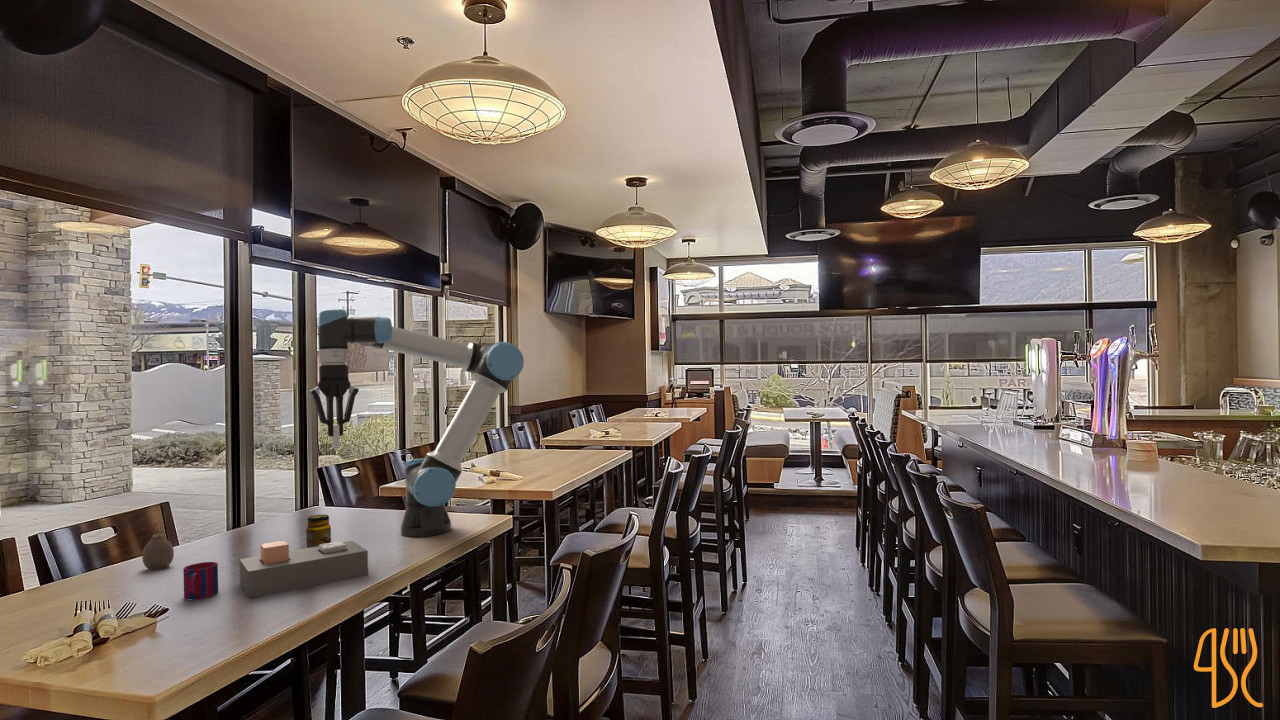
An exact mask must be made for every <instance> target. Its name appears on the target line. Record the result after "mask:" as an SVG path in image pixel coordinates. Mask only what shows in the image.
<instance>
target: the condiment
mask: <svg viewBox="0 0 1280 720" xmlns="http://www.w3.org/2000/svg"><path fill="white" fill-rule="evenodd" d="M331 530H332V528H331V525H330V516H329V514H315V515H310V516H308V518H307V527H306V529H305V531H306V534H305V535H306V548H311V547H317V546H319V545H320V544H326V543H332V531H331Z"/></svg>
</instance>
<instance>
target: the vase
mask: <svg viewBox="0 0 1280 720" xmlns="http://www.w3.org/2000/svg"><path fill="white" fill-rule="evenodd" d="M174 550H175V549H174V547H173V544H172V543H171V541H169V540H168V539H167V538H166V537H165V536H164V534H162V533H158V534H154V535H152V536H151V538H150V539H149V541H148V542H147V544H146V545H145V547H144V548H143V550H142V555H141V558H142V562H143V565H144V566H145V568H146V569H148V570H150V571H158V570H163V568H164V569H166V568H168V567H169V566H170V565H171V564H172V562H173V560H174V557H175V556H174V555H175V551H174Z"/></svg>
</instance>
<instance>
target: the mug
mask: <svg viewBox="0 0 1280 720" xmlns="http://www.w3.org/2000/svg"><path fill="white" fill-rule="evenodd" d="M218 567H219V563H218V562H215V561H202V562H198V563H197V562H196V563H192V564H189V565H186V566H184V567H183V570H182V571H183V599H184V600H186V599H192V600H191V601H195V600H194V599H198V600H202V599H201V598H204V599H208V598H211V597H213V595H214V596H216V595H217V593H219V568H218ZM215 594H216V595H215ZM210 596H211V597H210ZM207 597H208V598H207Z"/></svg>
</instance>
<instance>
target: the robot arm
mask: <svg viewBox="0 0 1280 720" xmlns="http://www.w3.org/2000/svg"><path fill="white" fill-rule="evenodd" d="M317 315H318V316H317V317H318V318H317V320H318V321H317V332H318V333H317V334H318V335H317V337H318V338H317V339H318V363H319V364H321V365H319V368H318V374H319V376H318V377H319V381H318V383H317V386H316V387H314V388H313V389H310V390H309V392H308V393H309V395H310V396H311V397H312V398H313V402H314V405H315V408H316V412H317V416H318V418H319V421H320V423H321V424H324V425H326V426H327V436H328V438H329V437H330V438H331V449H340V448H341V444H340V443H341V441H340V438H341V437H342V436H344V424H346V423H349V422H350V421H351V417H352V412H353V408H354V403H355V401H356V400H355V399H356V396H357V395H358V393H359V388H358V387H357V388H356V387H355V386H352V385H351V382H350V379H349V366H348V365H347V363H348V362H349V355H348V353H349V351H348V348H349V347H348V344H359V345H360V346H365V347H373V348H376V349H377V348H378V349H382V350H387V351H389V352H390V351H391V352H394V353H399V354H403V355H407V356H412V357H417V358H420V359H425V360H429V361H434V362H437V363H443V364H446V365H447V364H448V365H452V366H455V367H459V368H460V367H461V369H462V370H463V371H464V372H468V373H471V374H472V376H473V383H472V384H471V386H470V388H469V390H468V391H467V393H466V395H465V397H464V398H463V400H462V402H461V403H460V405H459V407H458V408H457V411H456V413H455V414H454V417H453V418H452V419H451V421H450V423H449V425H448V426H447V428H446V430H445V432H444V434H443V436H441V439H440V441H439V442H438V444H437V445H436V448H435V449H434V450H433V451H429V452H427V453H426V454H425V456H424V458H414V459H413V458H412V459H408V460H406V462H405V465H404V475H405V478H404V479H405V511H404V516H403V519H402V522H401V525H400V534H401V535H402V536H405V537H411V536H412V537H413V538H415V537H416V538H417V536H421V537H431V536H436V535H442V534H444V533H448V532H450V531H451V530H452V521H451V519H450V516H449V513H448V511H447V508H446V503H447V502H448V501H450V500H451V499H452V498H453V496H454V494H455V492H456V486H457V485H456V483H457V482H458V479H459V478H460V476H461V474H462V473H463V468H462V462H463V460H464V459H465V456H466V455H467V452H469V449H470V447H471V445H472V444H473V442H474V440H475V439H476V436H477V434H478V433H479V431H480V429H481V428H482V425H483V424H484V422H485V420H486V419H487V417H488V415H489V413H490V411H491V409H492V408H493V406H494V404H495V402H496V401H497V399H498V397H499V395H500V394H502V393H506V392H507V391H508V389H509V387H510V386H511V384H512V382H513V380H515V379H516V378H517V377H518V376H520V374H521V373H522V371H523V369H524V365H525V364H524V361H525V359H524V356H523V353H522V351H521V350H520V349H519V347H518V346H516V345H515V344H512V343H511V342H507V341H498V342H496V343H495V342H494V343H492V344H491V343H489V344H483V343H475V342H469V343H468V344H466V343H463V342H459V341H453V340H450V339H447V338H443V337H442V338H441V337H438V336H434V335H429V334H425V333H421V332H416V331H413V330H409V329H405V328H401V327H396V326H393V325H392V320H391V318H390V317H385V316H365V317H364V316H363V317H362V316H361V317H360V316H357V317H356V316H354V317H353V316H348V313H347V311H346V310H345V309H330V308H329V309H328V308H327V309H323V310H320V311H319V312H318V314H317ZM347 392H348V397H347V401H346V405H345V411H344V396H345V394H346V393H347ZM321 393H322V394H323V395H324V396H325V402H326V414H325V411H324V406H323V403H322V400H321V396H320V394H321ZM334 399H335V404H336V405H335V406H336V408H335V410H336V414H335V415H336V424H335V423H334V422H335V421H334ZM412 537H411V538H412Z"/></svg>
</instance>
